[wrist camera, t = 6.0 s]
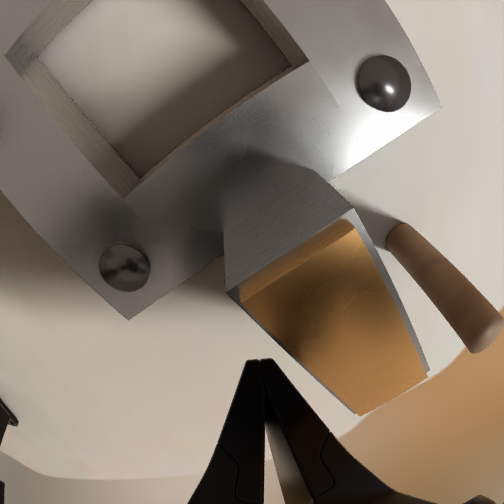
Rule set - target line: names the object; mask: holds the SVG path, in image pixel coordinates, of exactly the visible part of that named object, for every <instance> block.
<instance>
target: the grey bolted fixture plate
mask: <svg viewBox="0 0 504 504" xmlns="http://www.w3.org/2000/svg"><path fill="white" fill-rule="evenodd" d="M92 1H93V0H0V190H1V191H2V193H3V194H4V195H5V196H6V198H7V199H8V200H9V201H10V202H11V204H12V205H13V206H14V207H15V208H16V210H17V211H18V212H19V213H20V214H21V215H22V217H23V218H24V219H25V220H26V221H27V222H28V223H29V224H30V226H31V227H32V228H33V229H34V230H35V231H36V232H37V233H38V234H39V236H40V237H41V238H42V239H43V240H44V241H45V242H46V243H47V244H48V245H49V246H50V247H51V248H52V249H53V250H54V251H55V252H56V253H57V254H58V256H59V257H60V258H61V259H62V260H63V261H64V262H65V263H66V264H67V265H68V266H69V267H70V268H71V269H72V270H74V271H75V272H76V273H77V274H78V275H79V276H80V277H81V278H82V279H83V280H84V281H85V282H86V283H87V284H88V285H89V286H90V287H91V288H92V289H93V290H95V291H96V292H97V293H98V294H99V295H100V296H101V297H102V298H103V299H104V300H106V301H107V302H108V303H109V304H110V305H111V306H112V307H113V308H115V309H116V310H117V311H118V312H119V313H120V314H122V315H123V316H124V317H125V318H126V319H127V320H130V319H131V318H133V317H134V316H136V315H137V314H138V313H140V312H141V311H143V310H144V309H146V308H147V307H148V306H150V305H151V304H153V303H154V302H155V301H157V300H158V299H160V298H161V297H162V296H164V295H165V294H167V293H168V292H170V291H171V290H172V289H174V288H175V287H177V286H178V285H180V284H181V283H182V282H184V281H185V280H187V279H188V278H190V277H191V276H192V275H194V274H195V273H197V272H198V271H200V270H201V269H202V268H204V267H205V266H207V265H208V264H210V263H211V262H212V261H214V260H215V259H217V258H218V257H220V256H221V255H223V254H224V262H225V285H226V293H227V294H228V295H229V296H230V297H231V298H232V299H233V300H234V301H235V302H236V303H237V304H238V305H239V306H240V307H241V308H242V309H243V310H244V311H245V312H246V313H247V314H248V315H249V316H250V317H251V318H252V319H253V320H254V321H255V322H256V323H257V324H258V325H259V326H260V327H261V328H262V329H263V330H264V331H265V332H266V333H267V334H268V335H269V336H271V337H272V338H273V339H274V340H275V341H276V342H277V343H278V344H279V345H280V346H281V347H282V348H283V349H284V350H285V351H286V352H287V353H288V354H289V355H290V356H291V357H293V358H294V359H295V360H296V361H297V362H298V363H299V364H300V365H301V366H302V367H303V368H304V369H305V370H306V371H307V372H309V373H310V374H311V375H312V376H313V377H314V378H315V379H316V380H317V381H318V382H319V383H320V384H322V385H323V386H324V387H325V388H326V389H327V390H328V391H329V392H330V393H331V394H333V395H334V396H335V397H336V398H337V399H338V400H339V401H340V402H341V403H343V404H344V405H345V406H346V407H347V408H348V409H349V410H350V411H352V412H353V413H354V414H356V413H357V414H358V415H359V416H362V415H364V414H366V413H368V412H370V411H372V410H374V409H375V408H377V407H379V406H381V405H383V404H384V403H386V402H388V401H390V400H392V399H393V398H395V397H397V396H398V395H400V394H402V393H403V392H405V391H407V390H408V389H410V388H412V387H413V386H415V385H417V384H418V383H420V382H421V381H423V380H424V379H426V378H427V374H426V372H428V371H429V370H430V369H429V366H428V363H427V361H426V358H425V356H424V353H423V351H422V348H421V346H420V343H419V341H418V338H417V336H416V334H415V331H414V329H413V326H412V324H411V322H410V320H409V317H408V315H407V313H406V310H405V308H404V306H403V304H402V302H401V299H400V297H399V295H398V293H397V291H396V289H395V286H394V284H393V282H392V280H391V278H390V276H389V274H388V272H387V270H386V268H385V266H384V264H383V262H382V260H381V258H380V256H379V254H378V252H377V250H376V248H375V246H374V244H373V242H372V240H371V238H370V237H369V235H368V233H367V231H366V229H365V227H364V225H363V224H362V222H361V220H360V218H359V216H358V214H357V213H356V211H355V209H354V208H353V207H352V206H351V205H350V204H349V203H348V202H347V201H346V200H345V199H344V198H343V197H342V196H341V195H340V194H339V193H338V192H337V191H336V190H335V189H334V188H333V187H332V186H331V185H330V184H329V183H328V182H329V181H331V180H332V179H334V178H335V177H337V176H338V175H340V174H341V173H343V172H344V171H346V170H347V169H349V168H350V167H352V166H353V165H355V164H356V163H358V162H359V161H361V160H362V159H364V158H365V157H367V156H368V155H370V154H371V153H373V152H374V151H376V150H377V149H379V148H380V147H382V146H383V145H385V144H386V143H388V142H389V141H391V140H392V139H394V138H396V137H397V136H399V135H400V134H402V133H403V132H405V131H406V130H408V129H409V128H411V127H412V126H414V125H415V124H417V123H418V122H420V121H421V120H423V119H425V118H426V117H428V116H429V115H431V114H432V113H434V112H435V111H437V110H438V109H440V108H441V107H442V106H441V104H440V101H439V99H438V97H437V95H436V92H435V90H434V88H433V86H432V83H431V81H430V79H429V77H428V75H427V73H426V71H425V69H424V67H423V65H422V63H421V61H420V59H419V57H418V55H417V53H416V51H415V50H414V48H413V46H412V44H411V42H410V40H409V39H408V37H407V35H406V33H405V32H404V30H403V28H402V27H401V25H400V23H399V22H398V20H397V18H396V17H395V15H394V14H393V12H392V11H391V9H390V7H389V6H388V4H387V3H386V1H385V0H240V1H241V2H242V3H243V4H244V5H245V7H246V8H247V9H248V10H249V11H250V12H251V14H252V15H253V16H254V17H255V18H256V20H257V21H258V22H259V23H260V25H261V26H262V27H263V28H264V29H265V31H266V32H267V33H268V34H269V36H270V37H271V38H272V40H273V41H274V42H275V43H276V45H277V46H278V47H279V49H280V50H281V51H282V53H283V54H284V55H285V57H286V58H287V59H288V61H289V62H290V64H291V65H292V67H290V68H288V69H287V70H285V71H283V72H282V73H280V74H279V75H277V76H276V77H274V78H272V79H271V80H269V81H268V82H266V83H265V84H263V85H262V86H260V87H259V88H257V89H256V90H254V91H253V92H251V93H250V94H248V95H247V96H245V97H244V98H242V99H241V100H239V101H238V102H237V103H235V104H234V105H232V106H231V107H230V108H228V109H227V110H225V111H224V112H223V113H221V114H220V115H218V116H217V117H216V118H214V119H213V120H212V121H210V122H209V123H208V124H206V125H205V126H204V127H202V128H201V129H200V130H198V131H197V132H196V133H195V134H193V135H192V136H191V137H189V138H188V139H187V140H186V141H184V142H183V143H182V144H181V145H179V146H178V147H177V148H176V149H175V150H173V151H172V152H171V153H170V154H168V155H167V156H166V157H165V158H164V159H162V160H161V161H160V162H159V163H158V164H157V165H155V166H154V167H153V168H152V169H151V170H150V171H148V172H147V173H146V174H145V175H144V176H143V177H142V178H140V179H139V178H138V176H137V175H136V174H135V173H134V172H133V171H132V170H131V168H130V167H129V166H128V165H127V164H126V163H125V162H124V160H123V159H122V158H121V157H120V156H119V155H118V154H117V152H116V151H115V150H114V149H113V148H112V147H111V145H110V144H109V143H108V142H107V141H106V140H105V138H104V137H103V136H102V135H101V134H100V133H99V131H98V130H97V129H96V128H95V127H94V126H93V124H92V123H91V122H90V121H89V120H88V118H87V117H86V116H85V115H84V114H83V112H82V111H81V110H80V109H79V108H78V107H77V105H76V104H75V103H74V102H73V100H72V99H71V98H70V97H69V96H68V94H67V93H66V92H65V91H64V90H63V88H62V87H61V86H60V85H59V83H58V82H57V81H56V80H55V79H54V77H53V76H52V75H51V74H50V72H49V71H48V70H47V69H46V67H45V66H44V65H43V64H42V62H41V61H40V60H39V59H38V56H39V54H40V53H41V52H42V51H43V50H44V49H45V48H46V46H47V45H48V44H49V43H50V42H51V41H52V40H53V39H54V38H55V37H56V36H57V34H58V33H59V32H60V31H61V30H62V29H63V28H64V27H65V26H66V25H67V24H68V23H69V22H70V21H71V20H72V19H73V18H74V17H75V16H76V15H78V14H79V13H80V12H81V11H82V10H83V9H84V8H85V7H86V6H87V5H88V4H89V3H91V2H92Z"/></svg>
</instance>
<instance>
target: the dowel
mask: <svg viewBox="0 0 504 504" xmlns="http://www.w3.org/2000/svg"><path fill="white" fill-rule="evenodd" d="M386 245H387V248H388V250H389V251H390V252H391V253H392V254H393V256H394V257H395V258H396V259H397V260H398V261H399V262H400V264H401V265H402V266H403V267H404V268H405V269H406V271H407V272H408V273H409V274H410V275H411V276H412V278H413V279H414V280H415V281H416V282H417V284H418V285H419V286H420V287H421V288H422V290H423V291H424V292H425V293H426V295H427V296H428V297H429V298H430V299H431V301H432V302H433V303H434V304H435V306H436V307H437V308H438V310H439V311H440V312H441V313H442V315H443V316H444V317H445V319H446V320H447V321H448V322H449V324H450V325H451V326H452V328H453V329H454V330H455V332H456V333H457V334H458V336H459V337H460V338H461V340H462V341H463V343H464V344H465V345H466V347H467V348H468V350H469V351H470V352H471V353H478V352H481V351H482V350H484V349H485V348H487V347H488V346H489V345H490V344H491V343H492V342H493V341H494V340H495V339H496V338H497V336H498V335H499V334H500V332H501V330H502V328H503V325H504V318H503V317H502V316H501V315H500V314H499V312H498V311H497V310H496V309H495V308H494V307H493V306H492V305H491V304H490V302H489V301H488V300H487V299H486V298H485V297H484V296H483V295H482V294H481V293H480V292H479V291H478V290H477V289H476V288H475V287H474V285H473V284H472V283H471V282H470V281H469V280H468V279H467V278H466V277H465V276H464V275H463V274H462V273H461V272H460V271H459V270H458V269H457V268H456V267H455V266H454V265H453V264H452V263H451V262H449V261H448V260H447V259H446V258H445V257H444V256H443V255H442V254H441V253H440V252H439V251H438V250H437V249H436V248H435V247H434V246H433V245H431V244H430V243H429V242H428V241H427V240H426V239H425V238H424V237H423V236H422V235H420V234H419V233H418V232H417V231H416V230H415V229H414V228H413V227H411V226H410V225H408V224H399V225H397V226H395V227H394V228H393V229H392V230H391V231H390V233H389V234H388V237H387V241H386Z"/></svg>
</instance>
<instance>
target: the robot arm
mask: <svg viewBox="0 0 504 504" xmlns="http://www.w3.org/2000/svg"><path fill="white" fill-rule="evenodd" d="M18 423H19V422H18V420H17V419H16V418H15V417H14V416H13V414H12V413H11V412H10V411H9V410H8V409H7V407H6V406H5V405H4V404H3V402H2V401H1V400H0V445H1V442H2V439H3V436H4V433H5V430H6V427H7V425H8V424H9V425H12V426H16V427H17V426H18ZM265 429H266V433H267V437H268V441H269V444H270V448H271V452H272V456H273V460H274V463H275V467H276V471H277V475H278V479H279V482H280V486H281V490H282V494H283V497H284V501H285V504H437V503H433V502H429V501H426V500H423V499H419V498H415V497H413V496H410V495H406V494H403V493H400V492H398V491H396V490H394V489H392V488H390V487H389V486H387V485H386V484H385V483H383V482H382V481H381V480H380V479H379V478H378V477H376V476H375V475H374V474H373V473H372V472H370V471H369V470H368V469H367V468H366V467H365V466H363V464H361V463H360V462H359V461H358V460H357V459H356V458H355V457H354V456H353V455H352V454H351V453H350V452H349V451H348V450H346V448H345V447H344V446H343V445H342V444H341V443H340V442H339V441H338V439H337V438H336V437H335V436H334V435H333V433H332V432H330V430H329V429H328V427H327V426H326V425H325V424H324V423H323V421H322V420H321V419H320V418H319V416H318V415H317V414H316V413H315V412H314V410H313V409H312V408H311V407H310V405H309V404H308V403H307V402H306V400H305V399H304V398H303V397H302V395H301V394H300V393H299V392H298V390H297V389H296V388H295V387H294V385H293V384H292V383H291V381H290V380H289V379H288V378H287V376H286V375H285V374H284V372H283V371H282V370H281V369H280V367H279V366H278V365H277V363H276V362H275V361H274V360H273V359H272V358H267V359H260V361H259V360H258V359H253V360H247V361H246V363H245V366H244V368H243V371H242V374H241V377H240V380H239V383H238V386H237V389H236V392H235V395H234V398H233V400H232V403H231V406H230V409H229V412H228V415H227V417H226V420H225V423H224V426H223V429H222V431H221V434H220V437H219V440H218V444H217V445H216V448H215V450H214V453H213V456H212V458H211V460H210V463H209V465H208V467H207V469H206V471H205V473H204V475H203V477H202V479H201V481H200V483H199V485H198V486H197V488H196V490H195V491H194V493H193V495H192V497H191V498H190V500H189V502H188V503H187V504H264V458H265ZM4 487H5V484H4V482H2V481H0V504H4ZM463 504H496V503H495V502H494V501H493V500H491V499H489V498H487V497H484V496H482V495H478V496H476V497H474V498H472V499H470V500H469V501H467V502H465V503H463ZM503 504H504V503H503Z"/></svg>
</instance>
